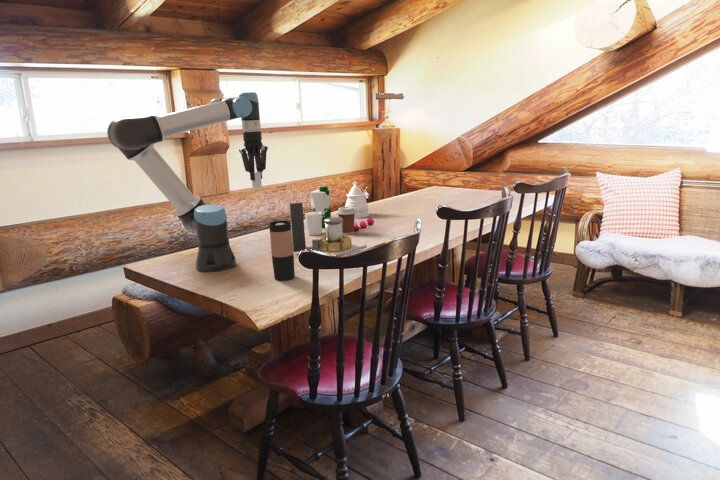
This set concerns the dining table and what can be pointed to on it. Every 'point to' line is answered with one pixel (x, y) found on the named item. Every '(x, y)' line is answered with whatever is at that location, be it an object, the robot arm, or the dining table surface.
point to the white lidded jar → (333, 229)
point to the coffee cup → (347, 219)
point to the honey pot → (357, 201)
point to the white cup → (313, 223)
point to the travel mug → (282, 250)
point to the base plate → (354, 246)
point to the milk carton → (321, 202)
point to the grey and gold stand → (320, 244)
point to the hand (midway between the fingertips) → (257, 187)
